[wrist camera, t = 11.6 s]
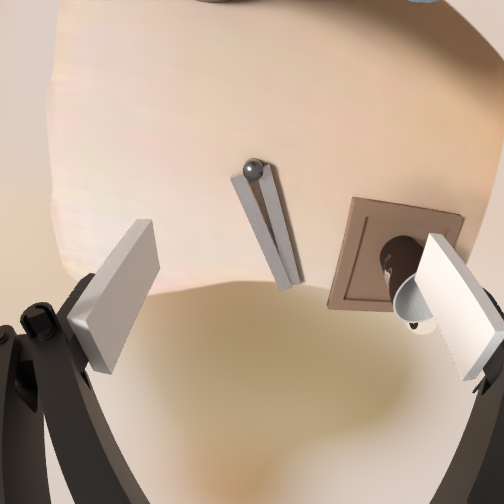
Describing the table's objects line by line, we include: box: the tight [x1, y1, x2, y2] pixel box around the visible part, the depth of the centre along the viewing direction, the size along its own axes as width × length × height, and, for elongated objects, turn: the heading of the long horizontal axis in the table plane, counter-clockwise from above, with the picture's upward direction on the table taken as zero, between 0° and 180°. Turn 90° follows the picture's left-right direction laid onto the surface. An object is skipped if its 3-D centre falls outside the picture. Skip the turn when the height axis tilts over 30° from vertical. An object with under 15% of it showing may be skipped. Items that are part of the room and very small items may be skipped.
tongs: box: [230, 158, 300, 291], centre depth 41 cm, size 19×5×2 cm, turn 16°
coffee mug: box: [380, 235, 433, 329], centre depth 39 cm, size 12×9×10 cm
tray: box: [327, 197, 463, 312], centre depth 43 cm, size 18×18×1 cm
